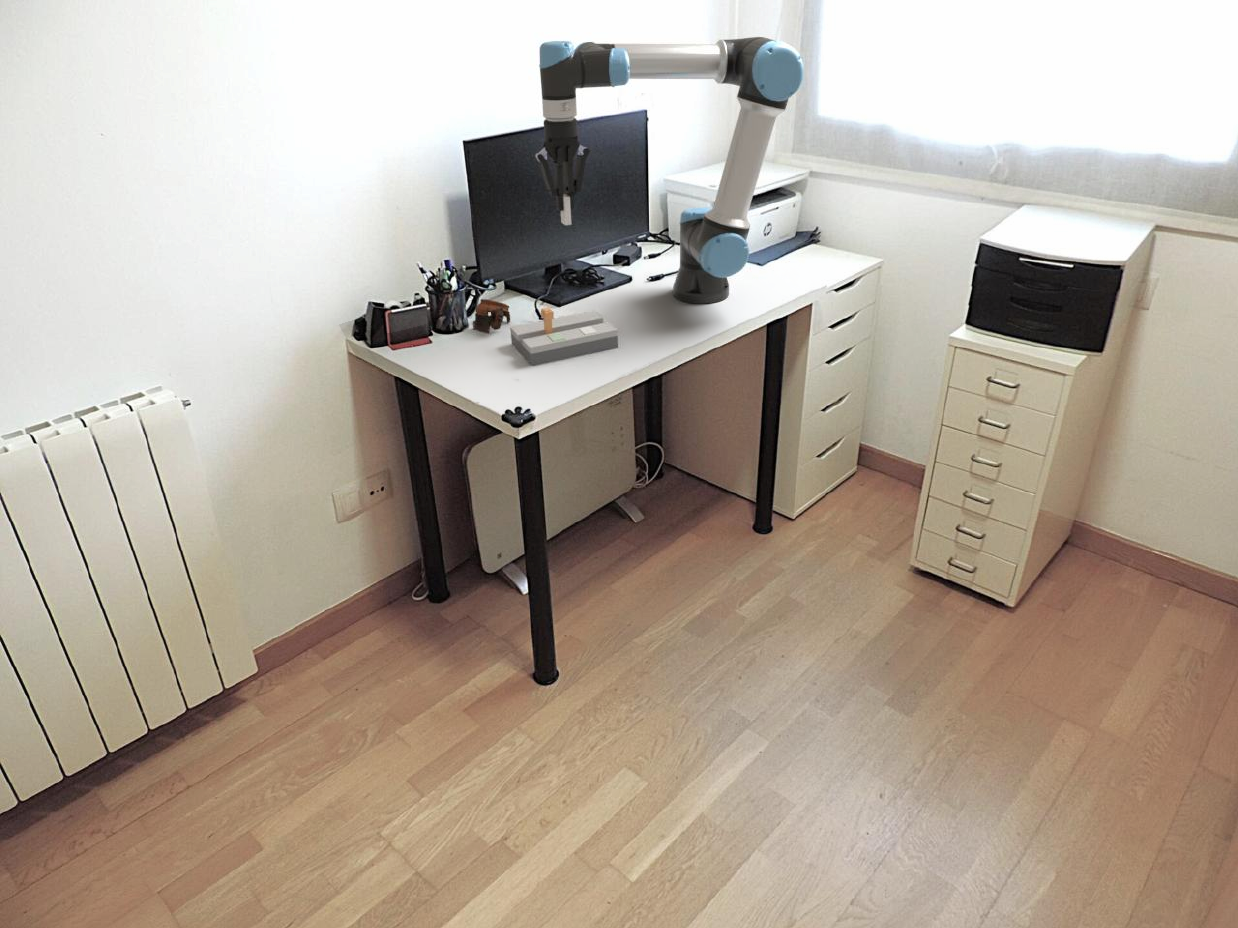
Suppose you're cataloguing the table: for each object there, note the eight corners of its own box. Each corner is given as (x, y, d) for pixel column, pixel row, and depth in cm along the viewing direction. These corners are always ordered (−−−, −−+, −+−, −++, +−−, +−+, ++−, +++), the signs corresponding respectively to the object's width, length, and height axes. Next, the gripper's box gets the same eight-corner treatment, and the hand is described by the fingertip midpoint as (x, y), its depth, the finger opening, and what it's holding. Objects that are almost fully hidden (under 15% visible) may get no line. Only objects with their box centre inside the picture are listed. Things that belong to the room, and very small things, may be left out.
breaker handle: (550, 333, 213) (548, 306, 210) (555, 337, 211) (553, 310, 208) (542, 334, 213) (540, 308, 209) (547, 339, 210) (545, 312, 207)
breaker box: (594, 327, 224) (593, 309, 222) (618, 347, 213) (617, 328, 211) (511, 344, 217) (510, 326, 214) (531, 365, 206) (530, 347, 203)
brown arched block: (464, 328, 228) (471, 296, 227) (497, 337, 233) (504, 306, 232) (483, 331, 218) (490, 298, 217) (517, 340, 223) (524, 308, 222)
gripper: (538, 124, 193) (546, 231, 206) (593, 117, 198) (597, 223, 210) (526, 118, 199) (534, 223, 211) (580, 112, 204) (585, 215, 216)
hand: (566, 223), depth 211 cm, fingers closed
